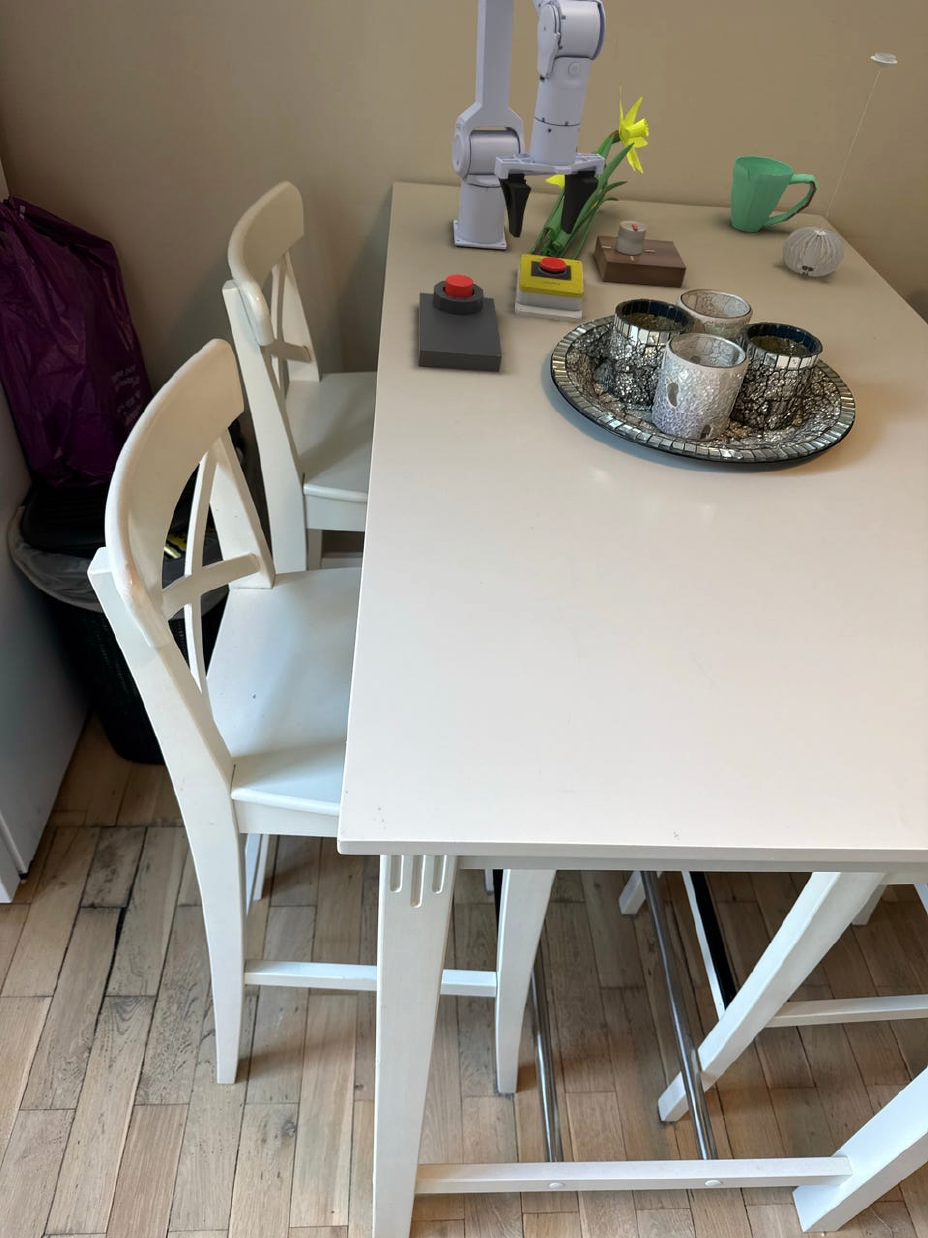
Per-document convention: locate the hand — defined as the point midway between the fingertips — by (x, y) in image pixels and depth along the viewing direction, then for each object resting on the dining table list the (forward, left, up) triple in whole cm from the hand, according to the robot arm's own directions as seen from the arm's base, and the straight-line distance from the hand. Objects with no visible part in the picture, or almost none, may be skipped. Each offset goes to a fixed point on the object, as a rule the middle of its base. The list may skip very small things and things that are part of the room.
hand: (540, 232), depth 116 cm
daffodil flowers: (-28, +11, -10) cm, 32 cm away
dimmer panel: (-15, +18, -10) cm, 25 cm away
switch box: (+12, -10, -10) cm, 19 cm away
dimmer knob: (-15, +16, -7) cm, 23 cm away
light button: (+6, -10, -6) cm, 14 cm away
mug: (-37, +44, -10) cm, 59 cm away
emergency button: (-3, +3, -10) cm, 11 cm away
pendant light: (-20, +47, -10) cm, 52 cm away
